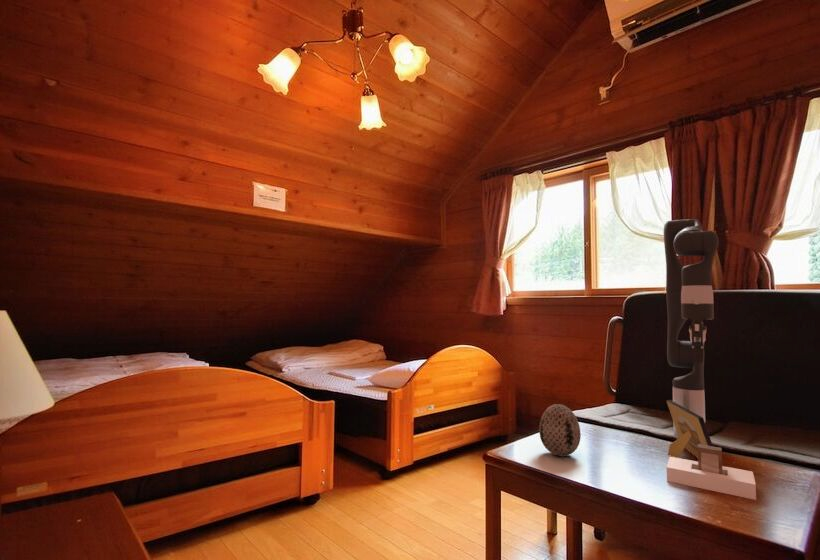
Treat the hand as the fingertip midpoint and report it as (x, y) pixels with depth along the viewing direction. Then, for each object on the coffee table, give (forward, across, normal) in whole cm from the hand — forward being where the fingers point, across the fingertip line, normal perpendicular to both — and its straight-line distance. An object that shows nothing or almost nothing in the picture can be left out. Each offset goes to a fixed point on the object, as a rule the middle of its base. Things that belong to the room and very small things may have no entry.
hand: (698, 360), depth 120 cm
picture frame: (+30, -11, -4) cm, 33 cm away
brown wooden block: (+29, +8, +2) cm, 30 cm away
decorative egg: (+30, +10, -35) cm, 47 cm away
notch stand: (+30, +8, +2) cm, 31 cm away
